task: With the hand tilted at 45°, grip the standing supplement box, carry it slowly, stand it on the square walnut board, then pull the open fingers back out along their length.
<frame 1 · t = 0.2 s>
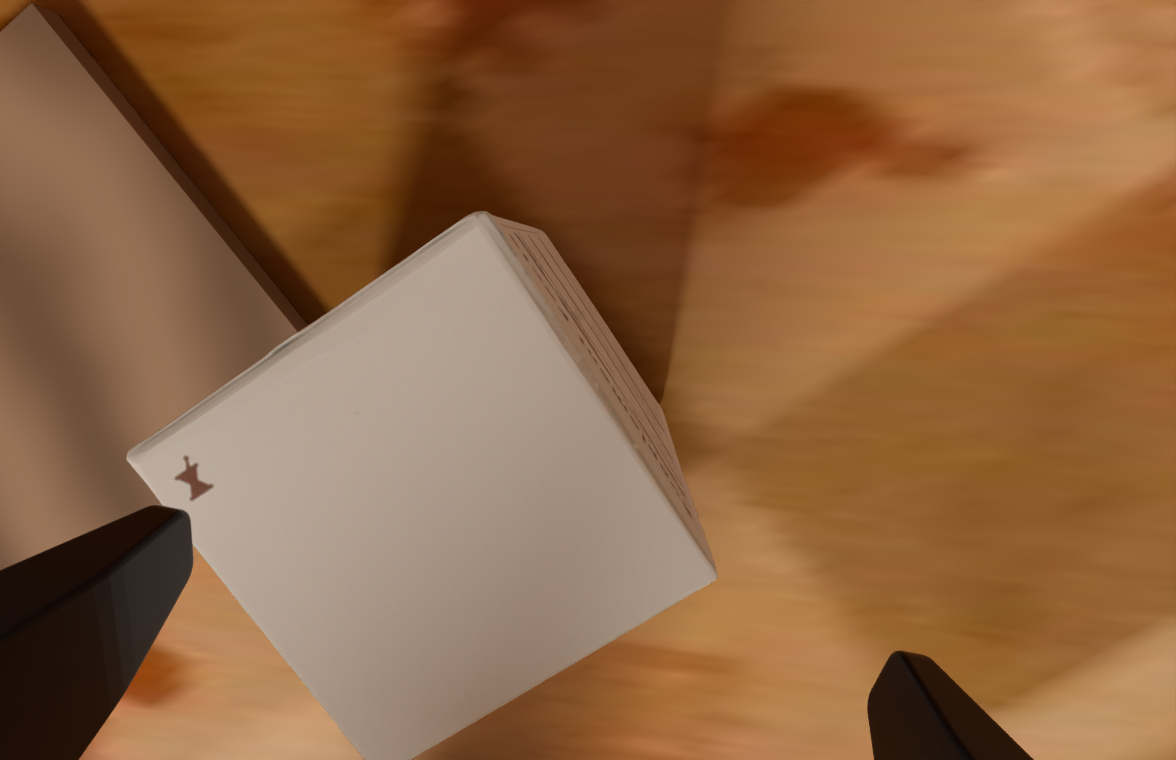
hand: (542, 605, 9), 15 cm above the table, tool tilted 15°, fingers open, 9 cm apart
walnut board: (54, 349, 24), on the table
supplement box: (517, 376, 24), on the table
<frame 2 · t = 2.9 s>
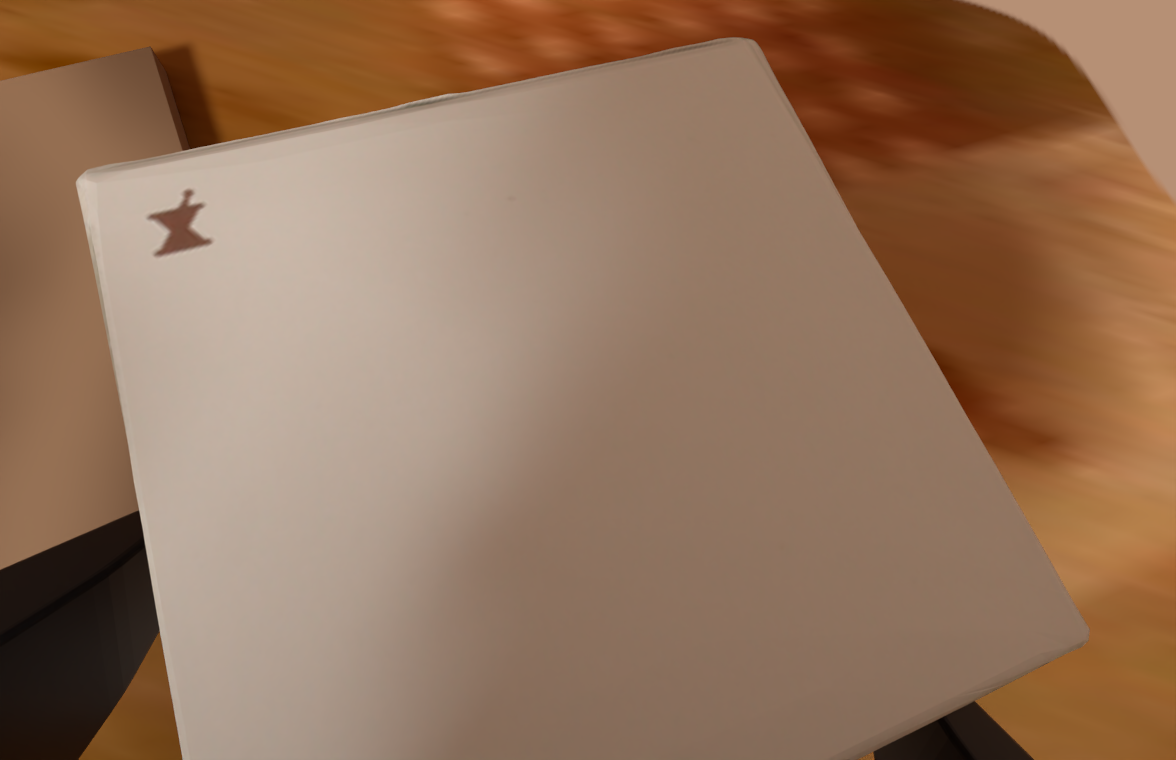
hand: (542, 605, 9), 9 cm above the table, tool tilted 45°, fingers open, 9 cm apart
supplement box: (522, 569, 18), on the table, touching gripper
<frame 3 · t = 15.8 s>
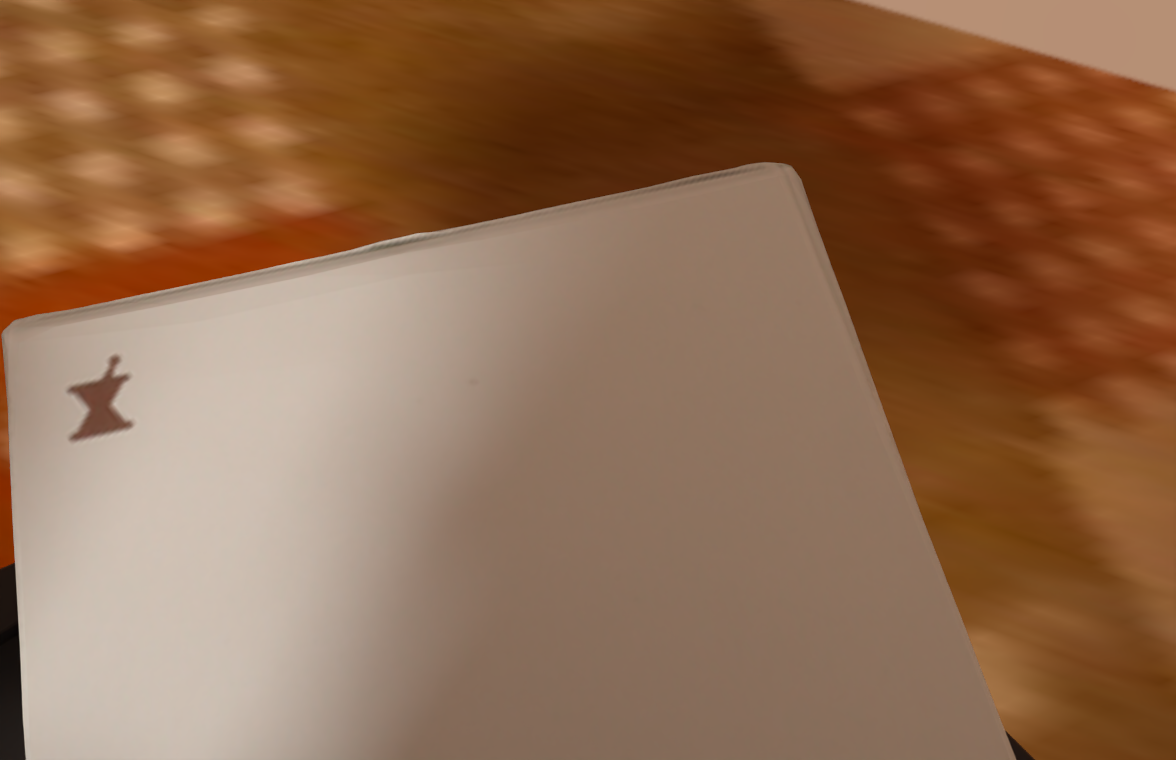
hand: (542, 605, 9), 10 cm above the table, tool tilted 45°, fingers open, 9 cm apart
supplement box: (536, 604, 18), point 1 cm above the table, touching gripper, walnut board
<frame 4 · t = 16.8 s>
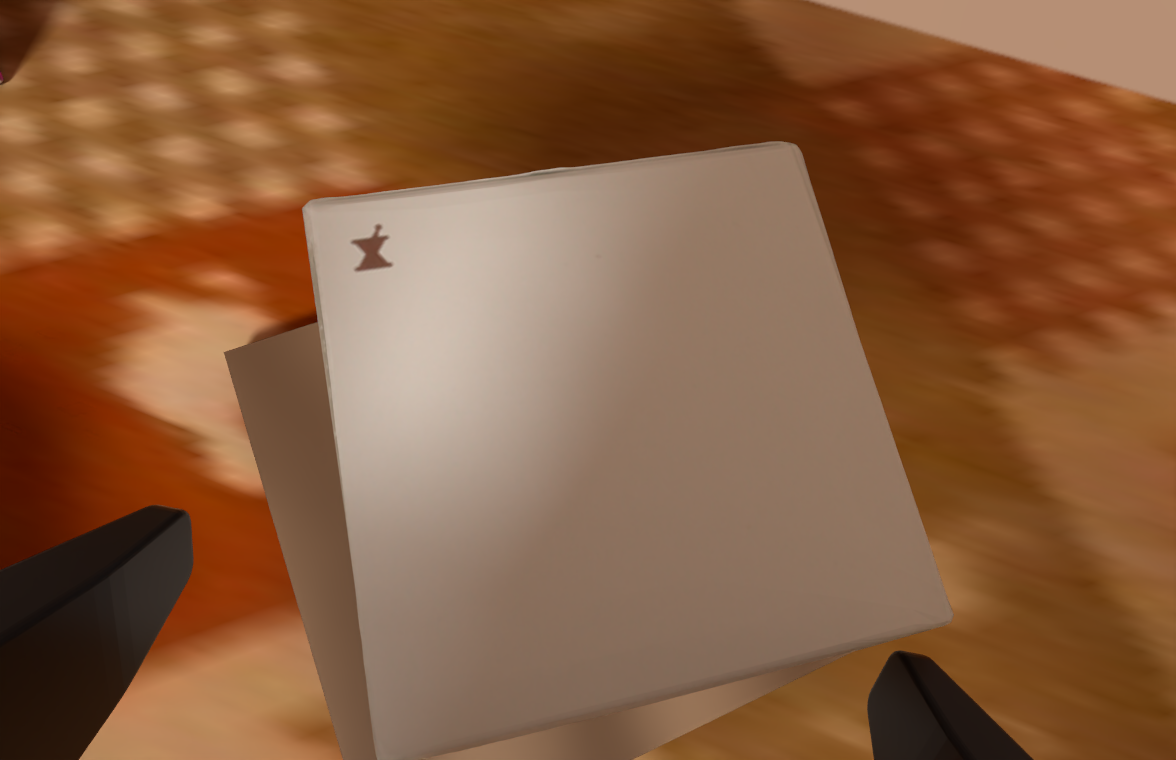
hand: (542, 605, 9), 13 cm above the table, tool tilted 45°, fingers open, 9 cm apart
walnut board: (547, 497, 22), on the table
supplement box: (556, 517, 21), point 1 cm above the table, touching walnut board
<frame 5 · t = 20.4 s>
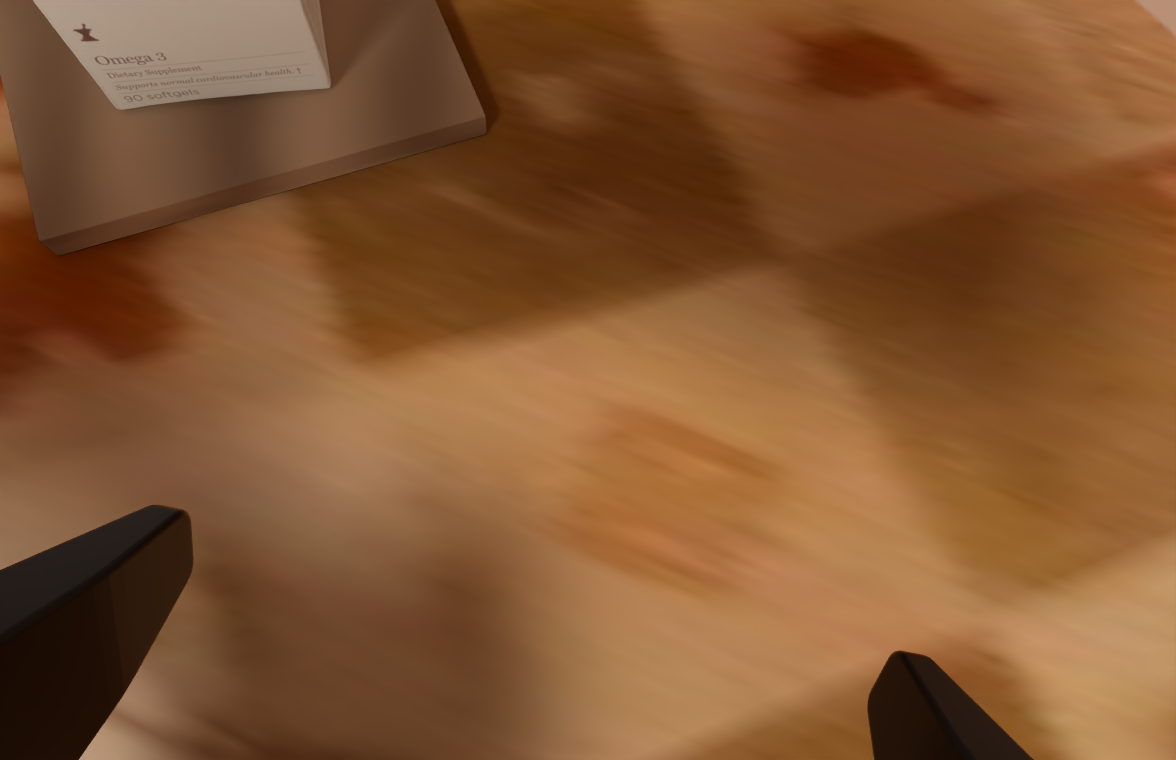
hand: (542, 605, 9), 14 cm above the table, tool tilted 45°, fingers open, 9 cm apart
walnut board: (229, 27, 27), on the table
supplement box: (225, 26, 26), point 1 cm above the table, touching walnut board
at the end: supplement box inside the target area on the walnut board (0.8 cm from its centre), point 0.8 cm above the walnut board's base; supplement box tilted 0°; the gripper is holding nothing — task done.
